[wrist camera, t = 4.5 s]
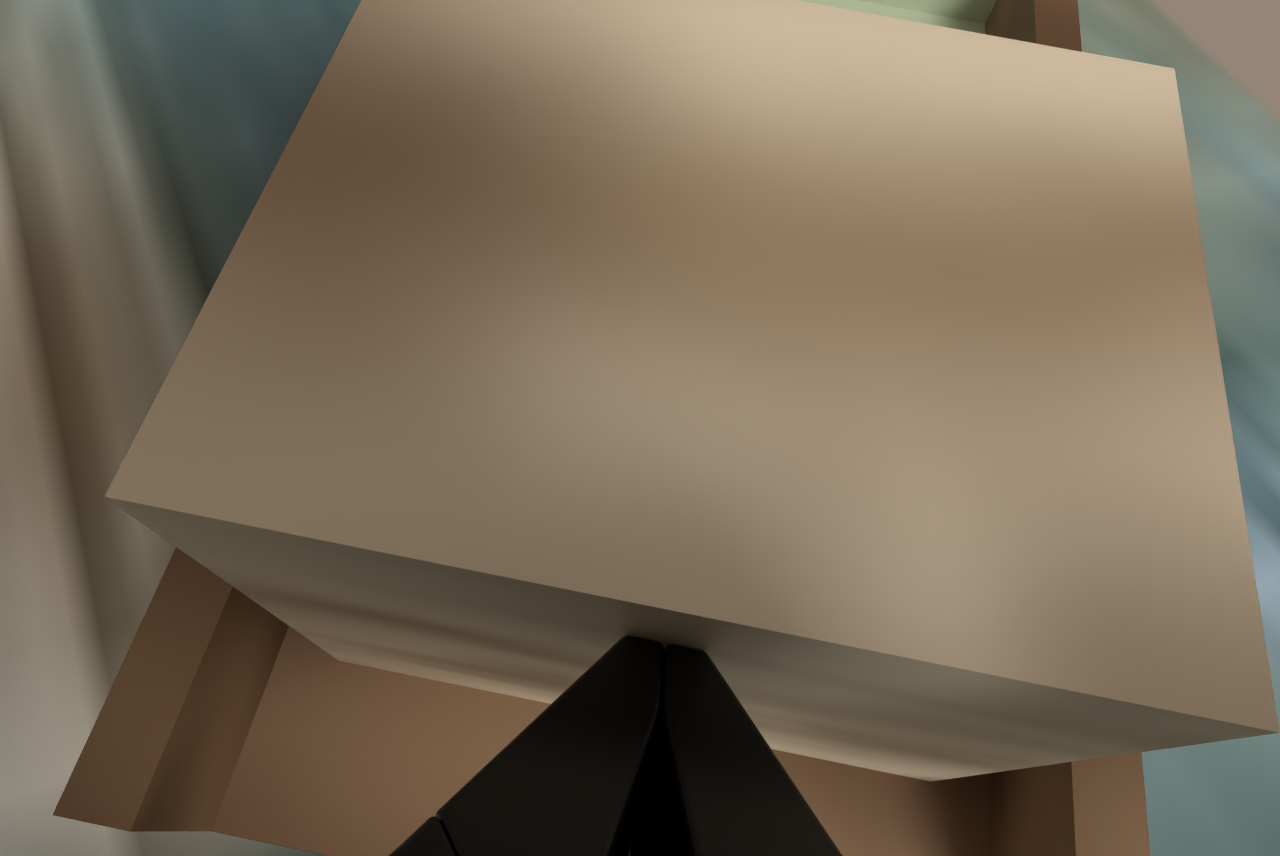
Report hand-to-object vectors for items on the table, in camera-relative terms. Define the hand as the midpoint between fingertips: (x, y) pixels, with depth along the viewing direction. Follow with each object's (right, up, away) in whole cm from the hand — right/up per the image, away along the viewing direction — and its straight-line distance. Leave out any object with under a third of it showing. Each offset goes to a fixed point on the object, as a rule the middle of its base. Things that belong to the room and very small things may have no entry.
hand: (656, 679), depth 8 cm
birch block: (0, +1, +7) cm, 7 cm away
